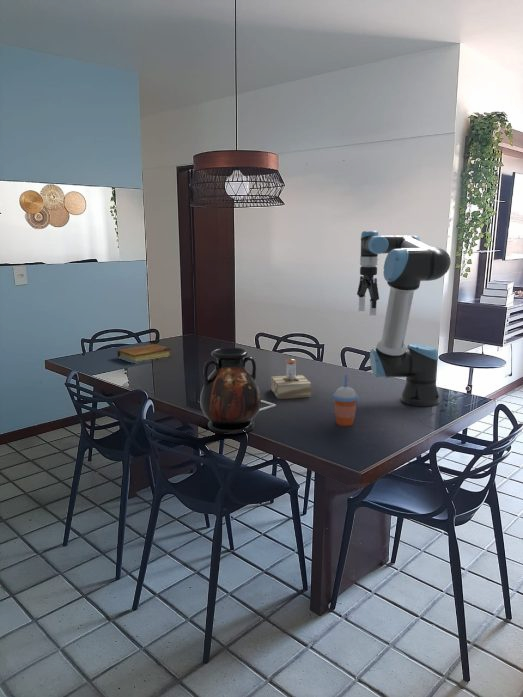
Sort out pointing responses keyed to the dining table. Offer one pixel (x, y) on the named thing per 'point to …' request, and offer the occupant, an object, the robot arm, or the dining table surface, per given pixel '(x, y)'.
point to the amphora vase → (230, 392)
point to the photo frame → (268, 406)
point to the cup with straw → (345, 405)
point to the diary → (144, 352)
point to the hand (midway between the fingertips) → (367, 313)
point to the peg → (290, 370)
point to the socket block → (290, 387)
